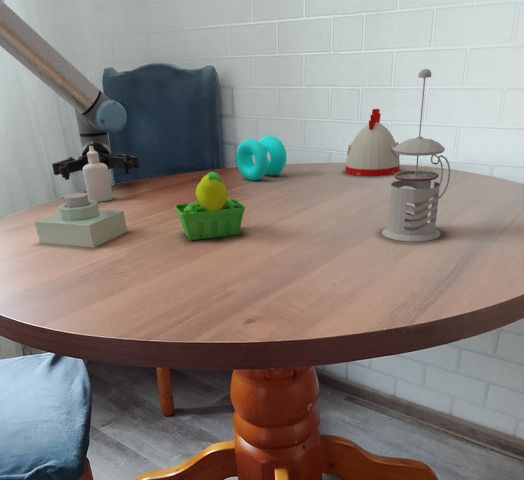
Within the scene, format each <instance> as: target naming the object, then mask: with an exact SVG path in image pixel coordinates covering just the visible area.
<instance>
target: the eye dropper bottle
mask: <svg viewBox="0 0 524 480" xmlns="http://www.w3.org/2000/svg"><path fill="white" fill-rule="evenodd" d="M87 157H88V162H90V163H89V164H87V165H85V166H84V167H83V171H82V174H83V179H84V184H85V188H86V189H85V190H86V194H87V195H88V200H94V201H97V202H98V203H103V202H109V201H112V200H113V199H114V194H113V188H112V182H111V177H110V171H109V170H108V167H107V165H106V164H104V163H100V162H99V156H98V152H96V151H95V150H94V148H93V146H89V152H88V153H87Z"/></svg>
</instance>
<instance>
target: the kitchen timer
mask: <svg viewBox="0 0 524 480" xmlns="http://www.w3.org/2000/svg"><path fill="white" fill-rule="evenodd" d="M371 111H372V112H371V114H370V120H368V123H367V124H366V125H364V127H362V128H361V129H360V130H359V132H357V134H356V136H355V137H354V139H353V140H352V142H351V143H350V144H348V148H347V153H346V159H345V168H344V169H345V170H344V171H345V173H346V174H348V175H351V176H359V177H383V176H391V175H394V174H395V173H396V172H400V165H401V164H400V163H401V162H400V154H396V153H394V151H393V148H394V147H395V146H397V145H398V144H399V141H395V138H394V136H393V135H392V133H391V131H390V130H389V129H388V128H387V127H386V126H385V125H383V124H382V123H380V121H381V114H382V113H381V112H380V108H374V109H372V110H371Z"/></svg>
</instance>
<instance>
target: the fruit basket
mask: <svg viewBox="0 0 524 480" xmlns="http://www.w3.org/2000/svg"><path fill="white" fill-rule="evenodd" d="M194 194H195V197H196V200H197V201H195V202H191V203H190V202H189V203H182V204H181V203H179V204H175V205H174V209H175V212H176V213H177V215H178V217H179V220H180V223H181V226H182V229H183V232H184V234H185V235H186V237H187V238H188V240H189V241H198V240H205V239H207V240H208V239H213V238H222V237H228V236H238V235H240V231H241V226H242V220H243V216H244V213H245V210H246V206H245V205H243V203H242V202H240V201H239V200H238V199H236V198H229V197H228V190H227V187H226V185H225V184H224V183H223V179H222V177H221V175H220V174H219V173H217V172H215V171H211V172H210V171H209V172H208V173H207V174H205V175H204V176H203V177H202V178H201V180H200V181H199V183H198V184H197V186H196V188H195V193H194Z"/></svg>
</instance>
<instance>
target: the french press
mask: <svg viewBox="0 0 524 480" xmlns="http://www.w3.org/2000/svg"><path fill="white" fill-rule="evenodd" d="M417 78H418V79H423V83H422V84H423V85H422V95H421V107H420V117H419V129H418V132H419V133H418V136H416V137H415V138H409V139H407V140H404V141H402V142H400V143H398V145H397V146H395V147H394V148H393V151H394V153H396V154H400V155H401V156H413V157H414V156H415V157H416V163H415V164H416V165H415V169H411V170H400V171H399V172H396V173H395V174H393V177H394V179H396V180H395V181H393V182H391V184H390V193H389V197H390V201H389V209H388V214H389V215H388V223H387V226H386V227H385V228H384V229H383V230H382V231H381V233H382V236H384V237H386V238H387V239H391V240H394V241H400V242H427V241H432V240H435V239H438V238H439V237H440V236H441V235H442V234H441V232H440V230H439V229H438V228H437V227H436V225H437V224H436V223H437V217H438V208H439V207H438V206H439V200H440V199H441V198H442V197H443V196H444V194H445V193H446V191H447V189H448V187H449V184H450V179H451V178H450V177H451V167H450V162H449V161H448V159H447V157H446V156H444V155H443V153H444V151H445V150H446V148H445V147H444V145H442V144H441V143H440V142H439V141H437V140H433V139H432V138H424V137H423V136H421V133H422V132H421V131H422V120H423V112H424V111H423V109H424V100H425V99H424V98H425V88H426V87H425V86H426V80H427V78H432V70H430V69H429V68H423V69H421V70H420V71H419V72H418V76H417ZM439 154H440V155H439ZM420 156H422V157H423V156H430V163H431V164H432V165H436V166H437V165H439V163H440V169H441V171H440V172H441V173H440V175H439V173H438V172H435V171H433V170H423V169H422V170H421V169H418V167H419V166H418V165H419V157H420ZM433 157H436V158H437V162H434V161H433ZM441 158H442V159H444V161H445V163H446V164H447V168H448V175H447V182H446V185H445V188H444V190H443V192H442V193H441V194H440V188H441V185H442V182H443V178H444V177H443V176H444V168H443V167H444V166H443V162H442V160H441ZM439 177H440V180H439V182H437V181H434V180H437V179H438V178H439ZM432 181H433V187H431V185H432ZM402 187H409V188H402ZM407 203H409V204H413V205H414V206H412V205H407ZM430 205H431V207H429V206H430ZM429 213H430V215H428V214H429ZM428 221H429V222H428Z"/></svg>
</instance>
